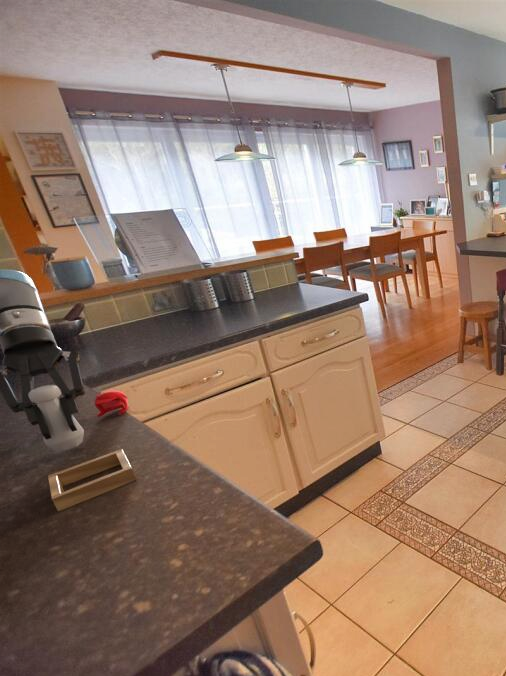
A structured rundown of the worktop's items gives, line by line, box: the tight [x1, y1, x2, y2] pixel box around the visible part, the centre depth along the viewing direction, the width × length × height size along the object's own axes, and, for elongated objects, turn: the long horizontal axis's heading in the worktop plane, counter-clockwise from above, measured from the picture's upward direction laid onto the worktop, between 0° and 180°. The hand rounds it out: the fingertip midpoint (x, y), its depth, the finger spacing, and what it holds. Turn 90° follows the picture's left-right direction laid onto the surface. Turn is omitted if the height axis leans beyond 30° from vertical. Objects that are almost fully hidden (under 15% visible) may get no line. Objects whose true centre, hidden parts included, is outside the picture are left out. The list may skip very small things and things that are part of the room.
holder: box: [47, 448, 138, 513], centre depth 77 cm, size 10×10×2 cm
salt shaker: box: [28, 384, 85, 452], centre depth 86 cm, size 6×6×13 cm
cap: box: [94, 390, 130, 418], centre depth 103 cm, size 8×6×6 cm
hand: (60, 431), depth 84 cm, fingers closed on salt shaker, 3 cm apart
